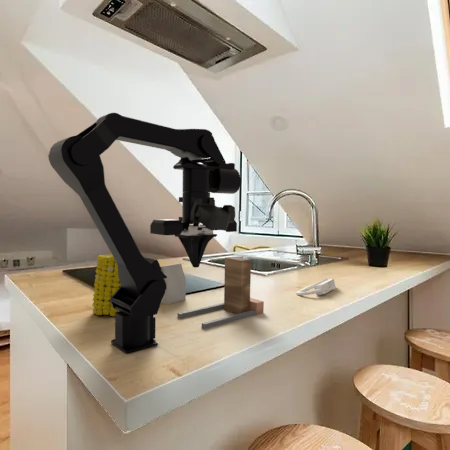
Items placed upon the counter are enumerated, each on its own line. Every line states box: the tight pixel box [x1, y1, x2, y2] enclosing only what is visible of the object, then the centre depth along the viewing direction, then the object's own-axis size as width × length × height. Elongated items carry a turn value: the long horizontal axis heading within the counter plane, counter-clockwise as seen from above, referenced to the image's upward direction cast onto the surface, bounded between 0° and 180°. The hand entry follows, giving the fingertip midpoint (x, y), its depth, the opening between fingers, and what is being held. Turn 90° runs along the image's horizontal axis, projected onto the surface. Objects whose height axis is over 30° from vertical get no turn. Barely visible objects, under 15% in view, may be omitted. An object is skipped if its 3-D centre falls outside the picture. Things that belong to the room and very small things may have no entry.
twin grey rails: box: [177, 297, 265, 330], centre depth 85 cm, size 18×10×3 cm, turn 132°
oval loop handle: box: [295, 277, 336, 296], centre depth 113 cm, size 20×8×4 cm, turn 147°
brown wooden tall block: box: [223, 256, 252, 315], centre depth 88 cm, size 3×6×13 cm, turn 42°
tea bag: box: [160, 263, 187, 306], centre depth 97 cm, size 4×7×10 cm, turn 142°
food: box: [92, 253, 121, 317], centre depth 86 cm, size 15×12×10 cm
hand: (195, 267), depth 76 cm, fingers closed
